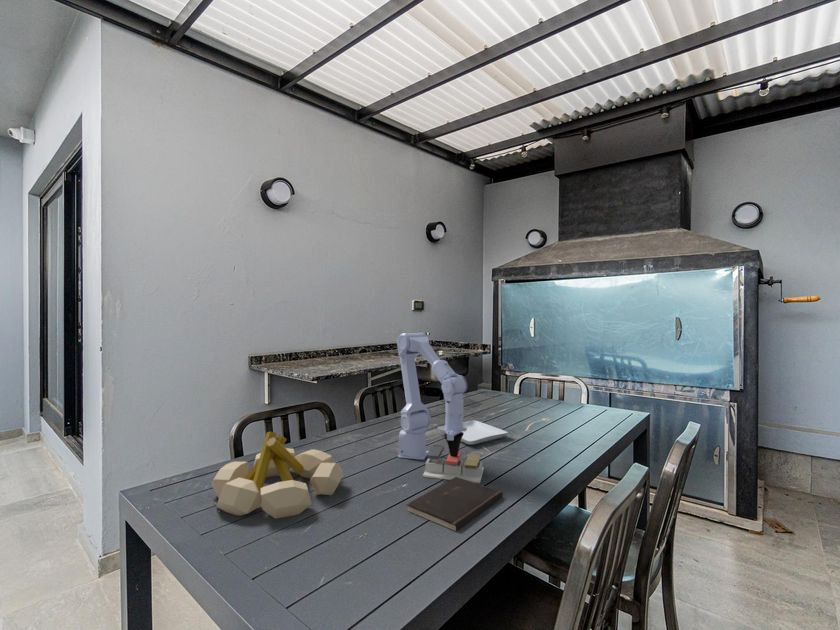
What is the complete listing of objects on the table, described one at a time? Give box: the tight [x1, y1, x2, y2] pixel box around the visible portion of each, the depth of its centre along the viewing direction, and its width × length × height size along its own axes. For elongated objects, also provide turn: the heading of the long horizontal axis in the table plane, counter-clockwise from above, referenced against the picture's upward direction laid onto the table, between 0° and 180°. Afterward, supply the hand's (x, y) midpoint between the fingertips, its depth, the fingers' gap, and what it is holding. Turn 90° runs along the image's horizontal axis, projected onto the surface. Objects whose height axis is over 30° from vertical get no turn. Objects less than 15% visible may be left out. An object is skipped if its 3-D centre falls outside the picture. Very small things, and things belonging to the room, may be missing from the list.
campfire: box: [210, 431, 345, 519], centre depth 121 cm, size 35×34×17 cm
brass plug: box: [465, 453, 481, 469], centre depth 133 cm, size 4×10×4 cm, turn 165°
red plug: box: [446, 450, 463, 466], centre depth 135 cm, size 4×10×4 cm, turn 166°
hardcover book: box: [406, 477, 504, 533], centre depth 114 cm, size 16×23×2 cm
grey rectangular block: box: [426, 444, 445, 464], centre depth 136 cm, size 4×10×4 cm, turn 166°
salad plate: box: [437, 419, 509, 446], centre depth 172 cm, size 21×21×3 cm
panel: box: [422, 457, 485, 484], centre depth 135 cm, size 18×11×3 cm, turn 76°
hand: (454, 455), depth 135 cm, fingers closed, pressing on red plug
